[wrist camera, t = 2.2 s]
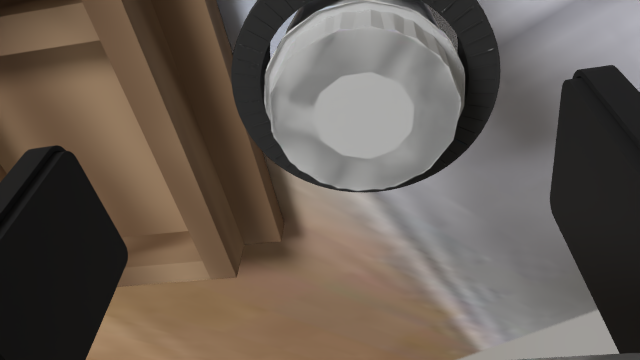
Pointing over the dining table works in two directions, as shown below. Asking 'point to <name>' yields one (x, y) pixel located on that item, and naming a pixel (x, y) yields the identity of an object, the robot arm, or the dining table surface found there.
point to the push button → (365, 88)
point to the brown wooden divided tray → (141, 126)
